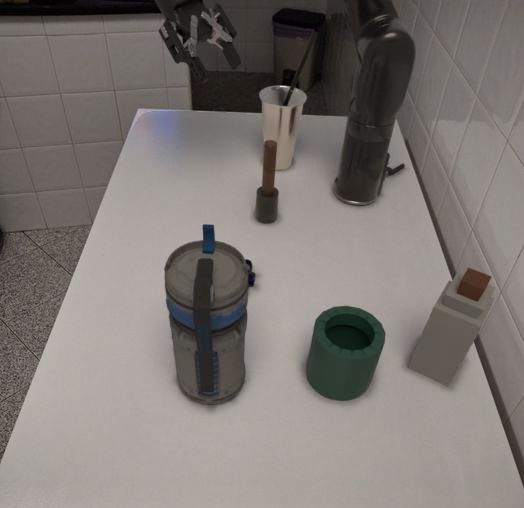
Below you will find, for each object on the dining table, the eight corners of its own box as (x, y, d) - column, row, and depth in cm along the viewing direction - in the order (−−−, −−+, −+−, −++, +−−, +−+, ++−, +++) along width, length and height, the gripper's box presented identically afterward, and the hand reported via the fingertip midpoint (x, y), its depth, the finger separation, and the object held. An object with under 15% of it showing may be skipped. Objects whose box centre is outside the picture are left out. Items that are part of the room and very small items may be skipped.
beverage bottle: (172, 421, 72) (151, 293, 53) (181, 350, 81) (166, 217, 62) (243, 423, 72) (248, 296, 53) (246, 352, 81) (250, 221, 62)
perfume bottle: (448, 386, 79) (494, 303, 65) (407, 367, 81) (443, 282, 67) (461, 358, 82) (508, 274, 69) (422, 340, 84) (459, 255, 71)
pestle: (269, 208, 107) (274, 135, 94) (280, 219, 104) (287, 145, 92) (251, 214, 105) (254, 140, 93) (262, 226, 103) (267, 151, 90)
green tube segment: (343, 341, 84) (355, 297, 76) (383, 383, 78) (400, 341, 71) (293, 365, 80) (300, 321, 72) (331, 411, 75) (343, 369, 67)
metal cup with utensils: (300, 180, 114) (318, 30, 91) (251, 172, 115) (256, 22, 92) (307, 156, 121) (325, 11, 98) (261, 149, 122) (268, 4, 99)
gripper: (148, -27, 79) (205, 74, 83) (209, -42, 86) (259, 51, 91) (129, 5, 85) (184, 97, 89) (188, -12, 92) (236, 73, 97)
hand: (222, 73), depth 90 cm, fingers open, 8 cm apart
